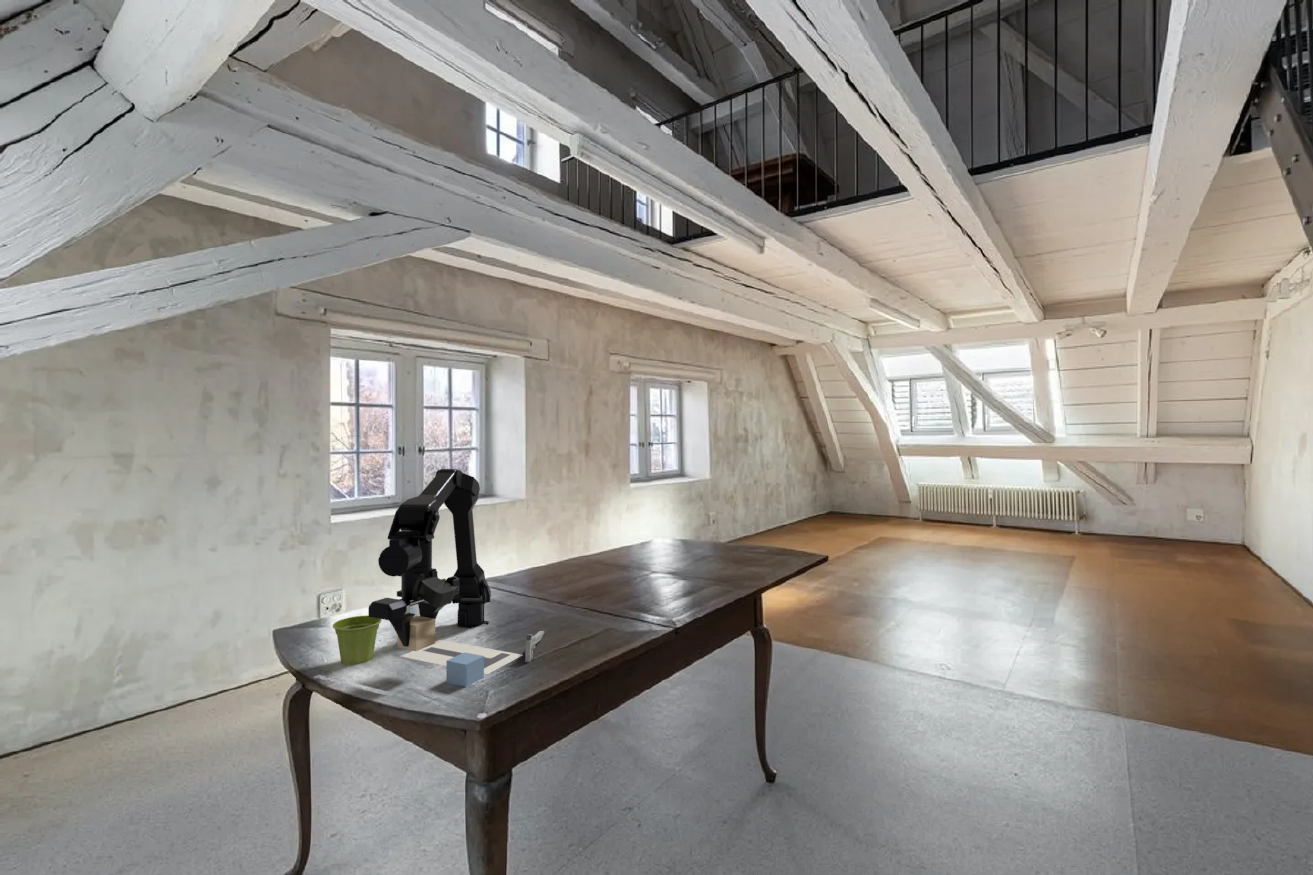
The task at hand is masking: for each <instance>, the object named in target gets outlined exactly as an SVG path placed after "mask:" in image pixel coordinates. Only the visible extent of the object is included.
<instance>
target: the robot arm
mask: <svg viewBox="0 0 1313 875" xmlns="http://www.w3.org/2000/svg"><path fill="white" fill-rule="evenodd" d="M480 491H481V490H480V482H479V481H478V480H477V479H476V478H475V477H474V476H471V475H469V474H467V473H463V472H462V470H460V469H457V468H440V469H438V470H437V471H436V472H435V476H434V477H433V478H432V480H431V481H430V482H429V483H428V485H426V486H425V488H424V489H423V490H422V491H421V492H420V494H419V495H417V496H415V497H411V498H407V499H406V500H405V501H404V502H402V503H401V504H400V505H399V506H398V508H397V509H396V511H395V512H394V513H395V514H394V517H393V519H392V522H391V525H390V528H389V529H390V530H389V531H388V534H387V540H388V541H389V542H388V543H389V544H388V546H386V547H385V548H384V549H383V550H382V551H381V552H380V554H379V557H378V567H379V568H380V571H381V572H383V574H385V575H386V576H388V577H401V578H400V579H401V580H400V581H401V586H400V587H401V589H400V590H398V591H396V597H399V599H398V598H397V599H396V598H392V597H384V598H380V599H377V600H374V601H371V603H370V604H369V605H368V614H367V615H368V617H373V618H378V619H382V620H384V621H388V622H389V623H390V624H391V626H392V627H393V629H394V631H395V633H396V635H397V638H398V637H399V639H400V640H401V642H402V644H403V646H405V647H407V646H409V640H410V621H411V619H412V618H413V617H415V616H416V613H412V612H411V607H413V606H417V605H418V612H419V616H422V617H427V618H433V619H435V620H436V619H437V616H438V615H439V612H440V611H441V610H442V609H443V608H444V607H445V606H447V605H451V604H453V605H454V604H457V606H458V608H457V609H458V610H457V623H455V624H453V626H454V627H455V626H456V627H459V628H466V629H475V628H477V627H480V626H483V625H488V624H490V622H489V620H485V605H486V604H488V603H491V598H492V591H491V588H490V586H489V583H488V581H487V579H486V576H485V570H483V568H482V567H481V566H480V564H479V563H478V562H477V550H476V549H477V548H476V539H475V538H476V537H475V527H474V526H475V525H474V523H475V522H474V513H473V510H474V507H475V505H476V504H477V502H478V501H479V500H478V499H479V494H480ZM443 504H444V505H445V507H446V508H447V509H448V510H449V511H450V513H451V515H452V521H453V531H454V542H455V543H454V544H455V545H454V546H455V554H456V565H457V566H456V570H455V572H454V574H453V575H452V576H450V577H447V578H439V577H438V571H437V568H433V539H435V532H436V528H437V526H438V523H439V521H440V519H441V518H440V514H439V510H440V508H441V507H442V506H443Z"/></svg>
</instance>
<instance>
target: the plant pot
mask: <svg viewBox="0 0 1313 875" xmlns="http://www.w3.org/2000/svg"><path fill="white" fill-rule="evenodd" d="M382 620H383V619H378V618H373V617H368V614H366V615H357V616H350V617H349V616H348V617H346V618H342V619H339V620H337V621H335V622H334V623H333V624H332V628H333V629H334V632H335V634H336V636H337V643H338V649H339V650H338V652H339V657H340V664H343V665H358V664H364V663H366V662H369V661H371V660H373V658H374V652H375V645H376V641H377V640H376V639H377V634H378V630H379V627H380V624H381V623H382Z"/></svg>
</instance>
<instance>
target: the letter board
mask: <svg viewBox="0 0 1313 875" xmlns="http://www.w3.org/2000/svg"><path fill="white" fill-rule="evenodd" d="M464 652H465V653H470V654H476V655H481V656H484V675H488V674H489V675H490V674H491V673H492V672H494V671H497V670H498V669H500V668H502V667H504V666H506V665H508V664H509V663H511V662H513V661H515V660H516V659H519V658H520V657H522V656H523V654H519V653H515V652H511V651H510V652H508V651H505V650H504V651H503V650H499V649H492V648H488V647H482V646H476V645H471V644H466V643H461V642H455V641H450V640H449V641H448V640H443V639H439V640H435V644H432V645H430V646H428V647H425V648H423V649H420V650H418V651H413V650H410V652H407V653H405V654H401V655H399V657H401V658H404V659H410V660H415V661H420V662H425V663H430V664H434V665H439V666H444V667H446V665H447V660H449V659H451V658H453V657H455V656H458V655H460V654H462V653H464Z"/></svg>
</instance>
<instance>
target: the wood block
mask: <svg viewBox="0 0 1313 875" xmlns="http://www.w3.org/2000/svg"><path fill="white" fill-rule="evenodd" d="M435 642H436V619H433V618H427V617H422V616H420V615H414V617H413V618H412V619H411V621H410V640H409V646H407V647H405V646H403V644H402V642H401V640H400V639H399V637H398V636H397V648H399V649H404V650H408V651H418V650H420V649H423V648H425V647H428V646H430V645H432V644H435Z"/></svg>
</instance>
